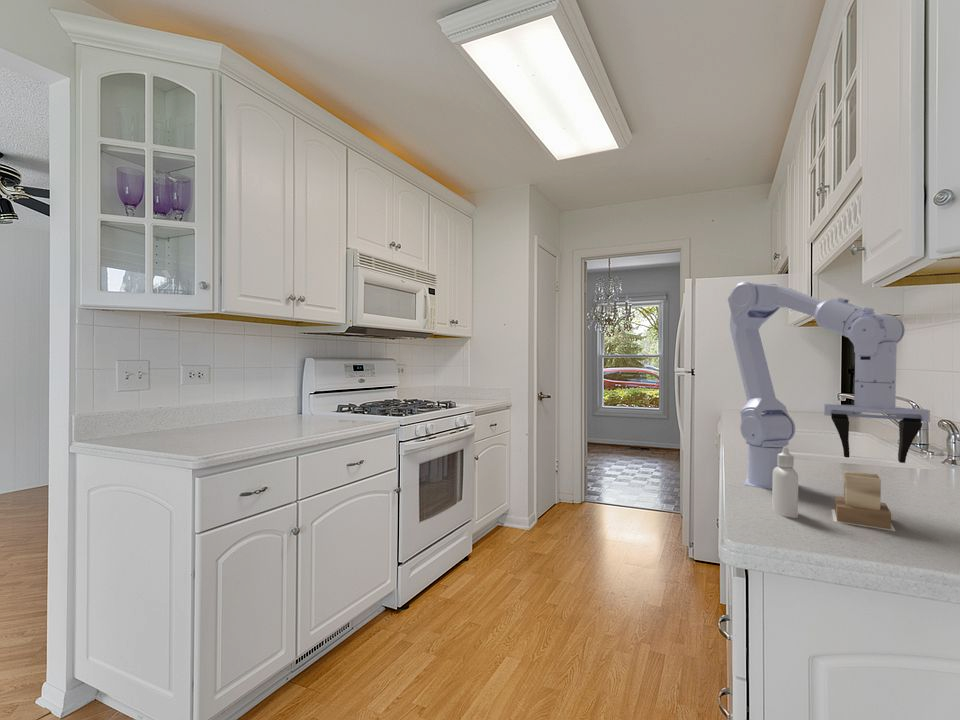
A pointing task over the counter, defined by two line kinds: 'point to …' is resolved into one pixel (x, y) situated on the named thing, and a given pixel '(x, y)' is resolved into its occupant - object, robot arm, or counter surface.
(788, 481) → the eye dropper bottle
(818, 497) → the counter surface
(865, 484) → the beech block
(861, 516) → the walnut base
